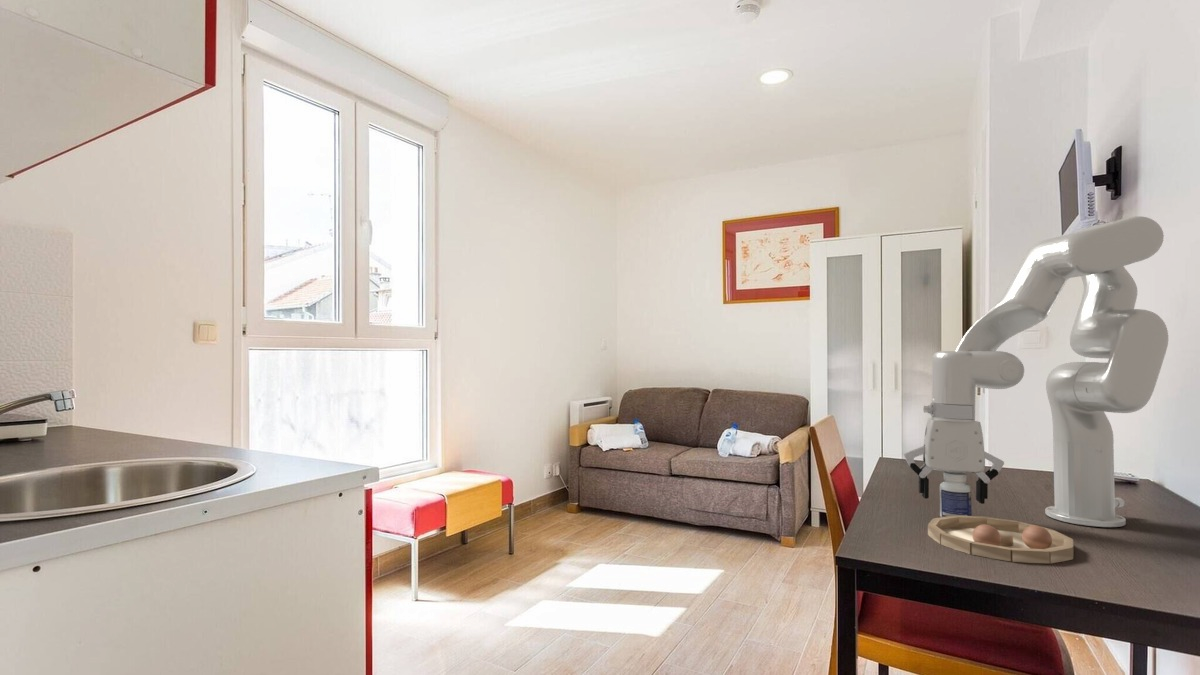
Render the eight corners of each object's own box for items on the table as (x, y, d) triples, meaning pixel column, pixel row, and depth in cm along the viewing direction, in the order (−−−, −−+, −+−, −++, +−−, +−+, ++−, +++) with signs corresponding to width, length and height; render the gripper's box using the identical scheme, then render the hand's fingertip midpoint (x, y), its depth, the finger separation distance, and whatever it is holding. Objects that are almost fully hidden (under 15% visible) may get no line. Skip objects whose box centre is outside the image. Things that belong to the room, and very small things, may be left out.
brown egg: (983, 544, 102) (983, 520, 102) (1007, 551, 98) (1006, 526, 98) (966, 547, 100) (966, 522, 100) (990, 554, 97) (989, 529, 97)
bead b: (1032, 545, 101) (1032, 521, 101) (1058, 552, 98) (1057, 527, 98) (1016, 548, 100) (1016, 523, 100) (1042, 555, 96) (1041, 530, 96)
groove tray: (982, 526, 116) (981, 511, 116) (1102, 559, 97) (1102, 542, 97) (903, 537, 109) (903, 522, 109) (1017, 576, 90) (1017, 557, 90)
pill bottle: (976, 527, 116) (975, 476, 116) (945, 525, 117) (945, 474, 117) (965, 519, 121) (964, 470, 121) (936, 518, 122) (935, 469, 122)
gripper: (908, 412, 119) (906, 499, 118) (1010, 417, 113) (1009, 508, 113) (901, 409, 126) (900, 491, 125) (997, 414, 120) (996, 500, 120)
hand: (952, 499), depth 119 cm, fingers open, 9 cm apart
